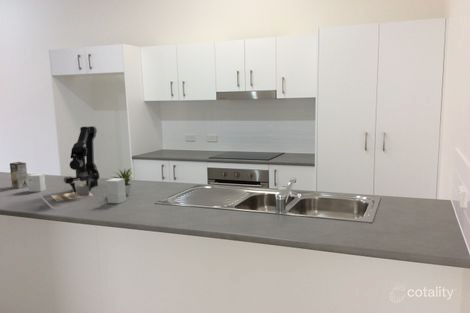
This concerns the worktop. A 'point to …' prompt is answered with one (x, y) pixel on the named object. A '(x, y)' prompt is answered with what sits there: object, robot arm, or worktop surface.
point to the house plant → (126, 180)
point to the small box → (36, 182)
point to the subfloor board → (68, 196)
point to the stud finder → (82, 189)
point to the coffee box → (18, 175)
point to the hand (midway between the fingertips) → (82, 192)
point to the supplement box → (116, 190)
